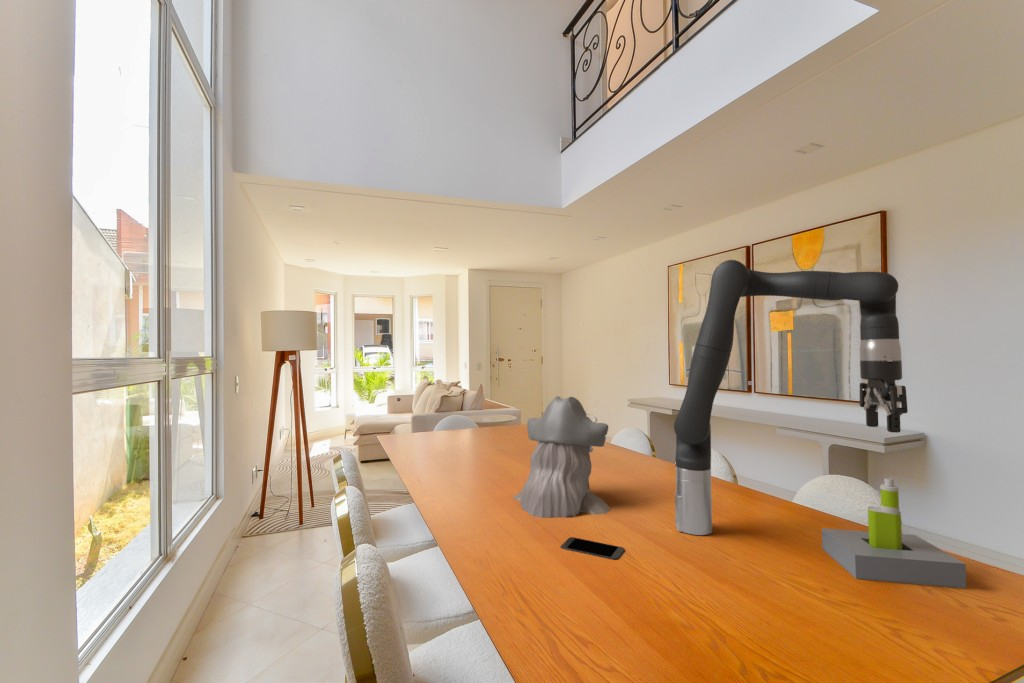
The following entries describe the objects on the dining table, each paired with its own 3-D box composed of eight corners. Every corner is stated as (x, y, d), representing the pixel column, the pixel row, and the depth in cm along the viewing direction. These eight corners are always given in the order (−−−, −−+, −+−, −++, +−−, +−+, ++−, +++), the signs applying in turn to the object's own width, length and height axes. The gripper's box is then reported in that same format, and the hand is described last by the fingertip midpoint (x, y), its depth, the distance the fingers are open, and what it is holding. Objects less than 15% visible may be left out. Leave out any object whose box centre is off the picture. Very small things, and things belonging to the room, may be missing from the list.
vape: (905, 572, 100) (902, 481, 101) (870, 566, 104) (868, 477, 104) (901, 566, 104) (898, 477, 104) (868, 560, 107) (865, 474, 108)
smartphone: (617, 562, 107) (617, 558, 107) (559, 549, 114) (558, 546, 114) (626, 551, 113) (626, 547, 113) (570, 539, 121) (570, 536, 121)
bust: (626, 497, 157) (625, 395, 159) (589, 527, 128) (588, 403, 130) (540, 483, 175) (539, 392, 176) (490, 507, 146) (490, 398, 147)
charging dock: (855, 578, 98) (855, 555, 98) (822, 548, 113) (821, 528, 114) (966, 588, 93) (965, 563, 94) (915, 555, 109) (914, 534, 109)
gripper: (846, 359, 113) (848, 424, 112) (879, 359, 99) (881, 433, 99) (881, 359, 112) (883, 425, 111) (919, 359, 98) (922, 434, 97)
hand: (882, 429), depth 105 cm, fingers open, 8 cm apart
